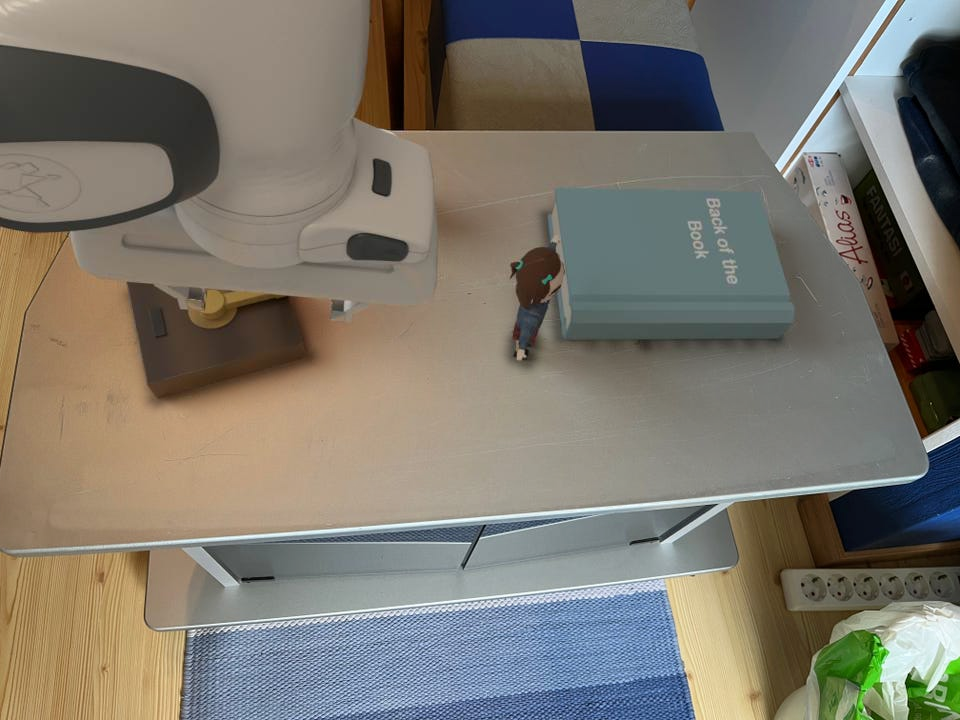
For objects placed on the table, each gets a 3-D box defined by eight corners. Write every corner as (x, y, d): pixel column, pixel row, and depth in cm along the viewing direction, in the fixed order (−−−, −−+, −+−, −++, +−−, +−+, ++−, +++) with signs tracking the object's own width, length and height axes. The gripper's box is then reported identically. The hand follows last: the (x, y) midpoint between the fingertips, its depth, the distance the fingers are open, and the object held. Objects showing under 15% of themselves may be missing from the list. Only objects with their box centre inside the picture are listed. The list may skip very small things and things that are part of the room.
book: (740, 220, 86) (759, 191, 81) (774, 342, 78) (797, 318, 74) (547, 217, 83) (555, 187, 78) (563, 343, 75) (574, 318, 71)
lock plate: (156, 398, 68) (146, 383, 66) (134, 293, 73) (124, 275, 70) (306, 357, 72) (302, 341, 69) (276, 259, 77) (271, 241, 74)
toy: (520, 412, 71) (548, 336, 58) (473, 398, 72) (491, 318, 58) (553, 297, 78) (586, 204, 65) (510, 284, 78) (534, 189, 65)
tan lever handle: (201, 323, 69) (181, 279, 62) (195, 300, 70) (175, 254, 64) (292, 299, 71) (282, 255, 65) (286, 278, 72) (275, 231, 66)
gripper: (18, 205, 34) (90, 337, 46) (460, 251, 38) (418, 360, 50) (48, 98, 36) (108, 250, 49) (458, 153, 41) (419, 279, 53)
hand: (269, 306), depth 49 cm, fingers open, 8 cm apart
